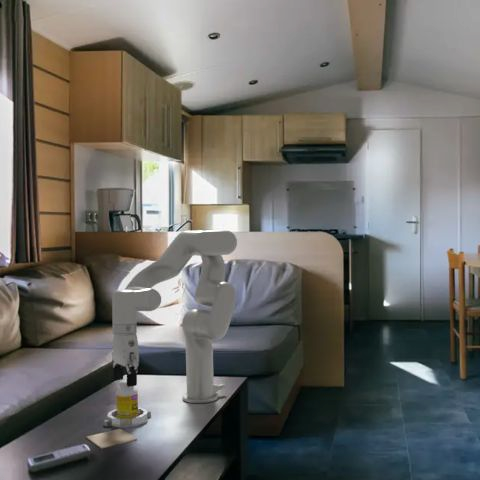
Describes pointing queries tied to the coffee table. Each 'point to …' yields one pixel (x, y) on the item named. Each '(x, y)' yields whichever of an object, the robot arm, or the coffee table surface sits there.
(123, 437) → the mat
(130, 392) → the supplement bottle
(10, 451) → the coffee table surface
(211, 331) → the robot arm
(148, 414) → the collar
